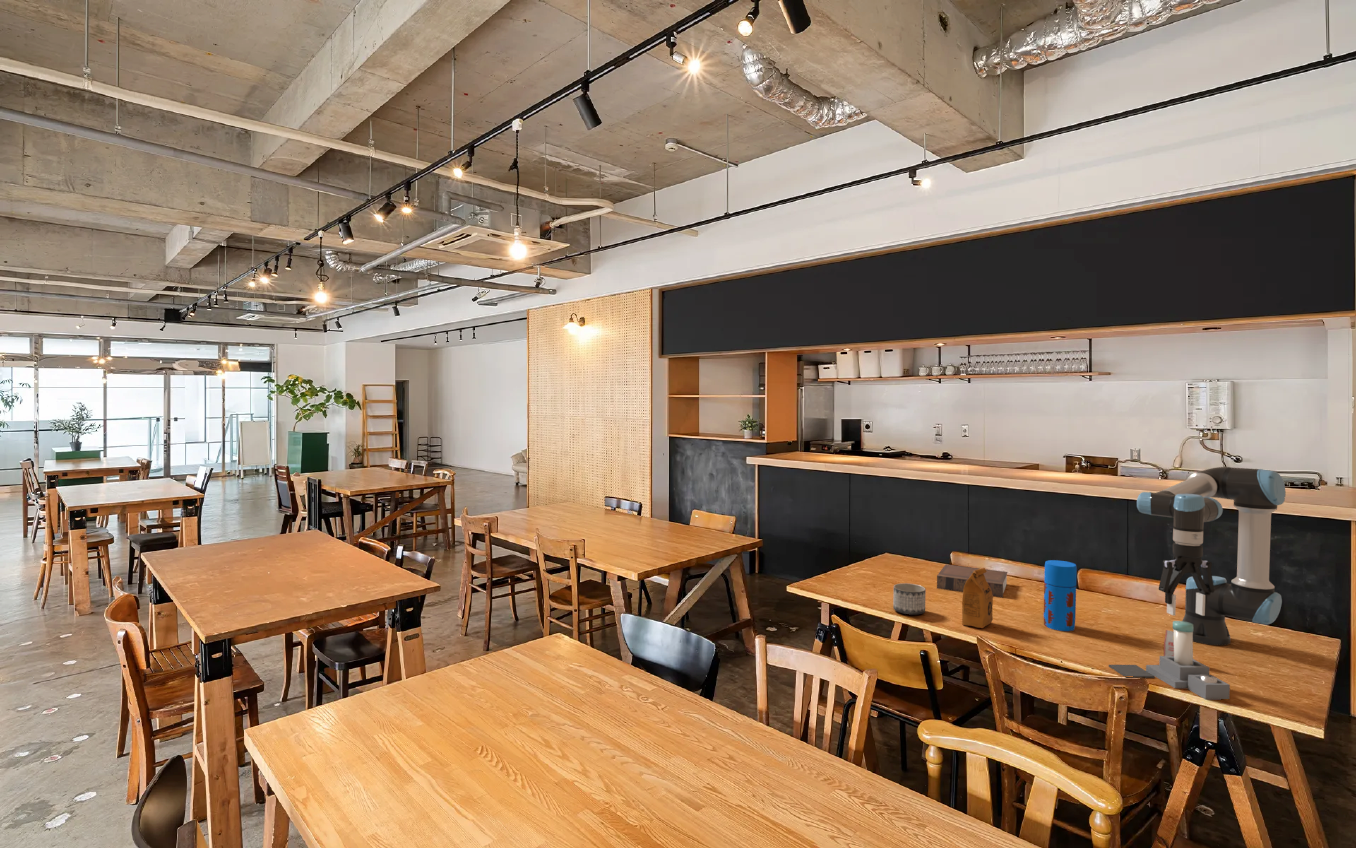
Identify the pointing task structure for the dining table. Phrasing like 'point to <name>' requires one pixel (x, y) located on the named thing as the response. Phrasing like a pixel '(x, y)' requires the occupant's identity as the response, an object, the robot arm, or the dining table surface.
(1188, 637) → the white and teal cylinder
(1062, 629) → the thermos
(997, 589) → the book
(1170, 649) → the white printed box
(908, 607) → the planter
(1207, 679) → the shiny grey domed cylinder
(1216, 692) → the housing
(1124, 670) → the mat
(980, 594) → the coffee package
